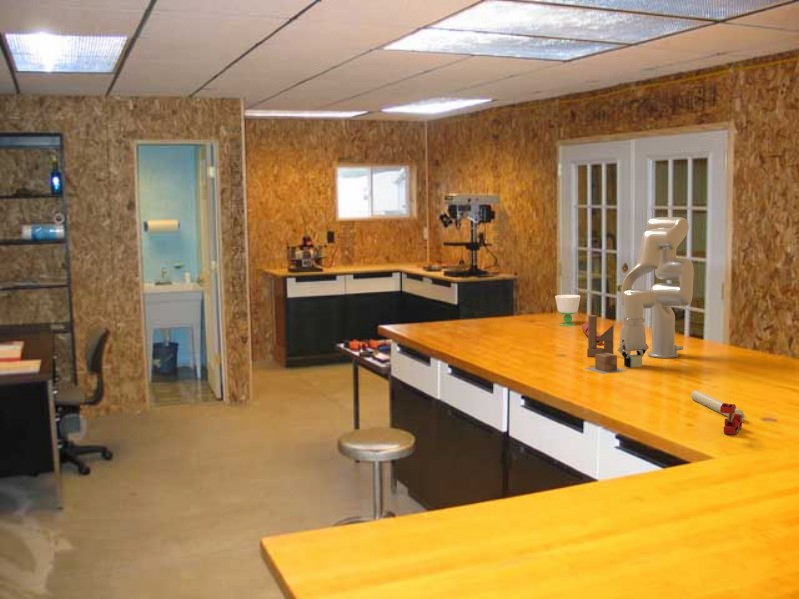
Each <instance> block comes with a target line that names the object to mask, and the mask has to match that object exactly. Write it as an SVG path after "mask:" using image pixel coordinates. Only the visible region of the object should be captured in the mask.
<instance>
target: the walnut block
mask: <svg viewBox="0 0 799 599" xmlns="http://www.w3.org/2000/svg"><path fill="white" fill-rule="evenodd" d="M594 360H595V362H594V363H595V365H594V367H595V369H597V370H601V371H604V372H605V371H613V370H617V368H618V355H617V354H614V353H613V354H610V353H602V354H595V359H594Z"/></svg>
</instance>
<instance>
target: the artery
mask: <svg viewBox="0 0 799 599" xmlns="http://www.w3.org/2000/svg"><path fill="white" fill-rule="evenodd" d="M581 326H582V327H581V329H582V331H583V333H584V334H585V335H586V337H588V322H584V323H583V324H582V325H581ZM600 336H601V335H600V334H599V332H597V339H598V338H599V337H600ZM603 344H604V341H597V345H600V346H602V345H603Z"/></svg>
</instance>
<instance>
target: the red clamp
mask: <svg viewBox="0 0 799 599" xmlns="http://www.w3.org/2000/svg"><path fill="white" fill-rule="evenodd" d="M736 408H737V406H736V404H735V403H728V402H727V403H726V402H724V403H723V404H722V405H721V407H720V414H721V413H727V414H729V415H728V417H727V418H724V426H723V434H727V435H737V434H738V433H739V431H740V430H742V426H743V421H742V416H741V415H740V414H735V410H736Z"/></svg>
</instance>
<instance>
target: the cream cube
mask: <svg viewBox="0 0 799 599" xmlns="http://www.w3.org/2000/svg"><path fill="white" fill-rule="evenodd" d="M629 358H630V367H629V368H638V367H639V368H640V367H643V357H642V356H641V355H637V353H630V357H629Z"/></svg>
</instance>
